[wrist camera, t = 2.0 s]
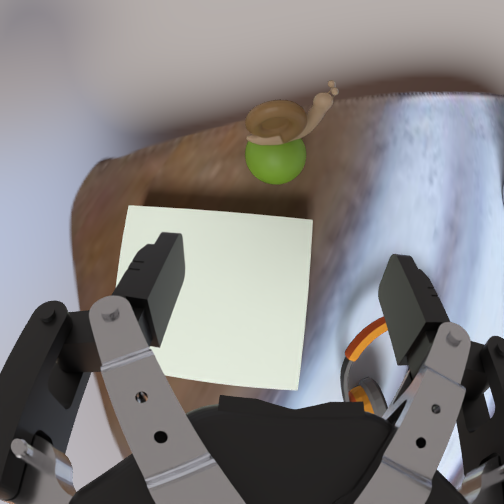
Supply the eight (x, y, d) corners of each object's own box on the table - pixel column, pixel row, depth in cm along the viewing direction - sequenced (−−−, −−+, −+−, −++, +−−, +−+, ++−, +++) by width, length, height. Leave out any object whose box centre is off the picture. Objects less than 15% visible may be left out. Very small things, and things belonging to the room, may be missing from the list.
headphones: (310, 509, 21) (315, 336, 19) (303, 477, 26) (302, 315, 25) (452, 467, 21) (491, 302, 19) (432, 444, 26) (459, 292, 25)
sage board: (306, 228, 28) (312, 219, 25) (293, 381, 25) (297, 390, 22) (140, 214, 28) (128, 205, 25) (124, 357, 26) (110, 363, 23)
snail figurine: (317, 186, 28) (351, 117, 17) (251, 197, 28) (248, 128, 16) (303, 139, 29) (325, 58, 17) (241, 148, 29) (234, 66, 17)
